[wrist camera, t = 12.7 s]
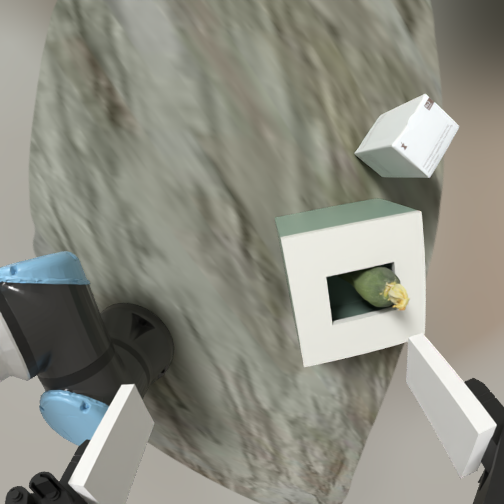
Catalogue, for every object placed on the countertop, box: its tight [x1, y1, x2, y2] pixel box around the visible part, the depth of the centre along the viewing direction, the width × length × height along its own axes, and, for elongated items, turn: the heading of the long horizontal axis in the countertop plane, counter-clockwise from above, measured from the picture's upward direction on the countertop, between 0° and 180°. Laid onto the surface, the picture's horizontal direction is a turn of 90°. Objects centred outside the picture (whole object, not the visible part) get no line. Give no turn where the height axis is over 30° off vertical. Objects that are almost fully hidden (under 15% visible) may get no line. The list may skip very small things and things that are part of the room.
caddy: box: [275, 198, 426, 367], centre depth 41 cm, size 16×16×14 cm
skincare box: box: [354, 94, 459, 178], centre depth 36 cm, size 8×6×15 cm
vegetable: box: [337, 265, 410, 311], centre depth 37 cm, size 4×4×20 cm
